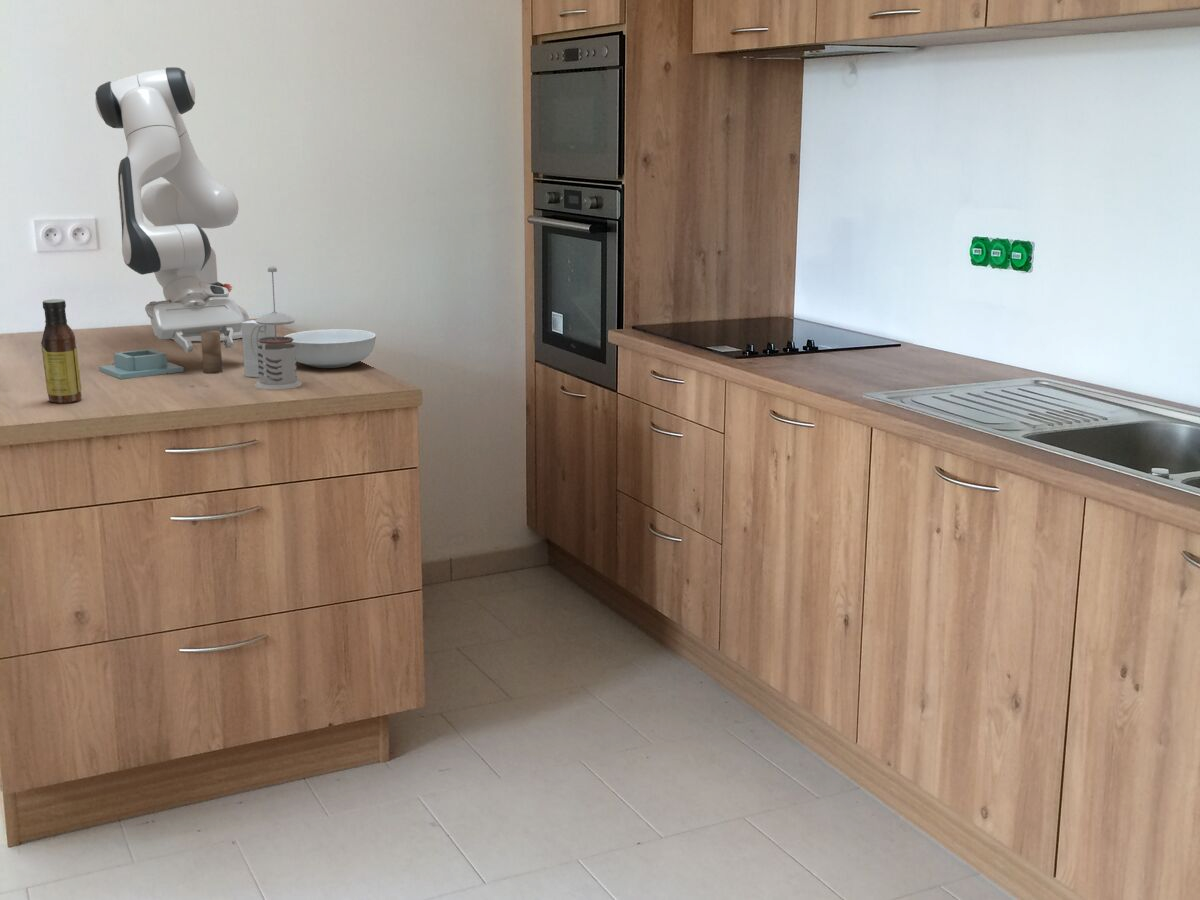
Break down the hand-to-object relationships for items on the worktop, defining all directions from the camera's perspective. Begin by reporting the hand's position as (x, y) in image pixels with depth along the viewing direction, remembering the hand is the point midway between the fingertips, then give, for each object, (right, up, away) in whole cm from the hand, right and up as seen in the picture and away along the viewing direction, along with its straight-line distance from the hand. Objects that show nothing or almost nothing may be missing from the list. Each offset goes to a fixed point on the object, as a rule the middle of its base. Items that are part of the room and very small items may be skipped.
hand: (210, 348), depth 271 cm
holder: (-15, -5, +1) cm, 16 cm away
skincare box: (+12, -7, -2) cm, 14 cm away
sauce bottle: (-19, -13, -30) cm, 38 cm away
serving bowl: (+24, -3, +12) cm, 27 cm away
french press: (+17, -9, -11) cm, 22 cm away
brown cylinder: (0, -5, +1) cm, 5 cm away
